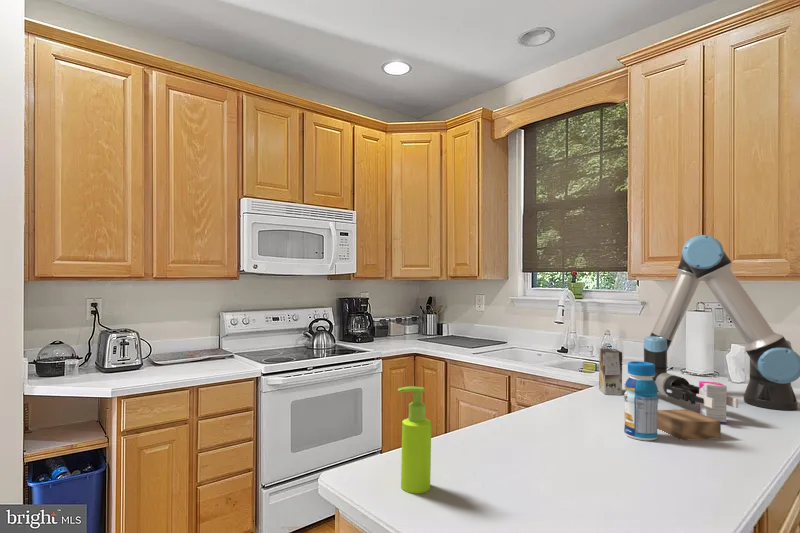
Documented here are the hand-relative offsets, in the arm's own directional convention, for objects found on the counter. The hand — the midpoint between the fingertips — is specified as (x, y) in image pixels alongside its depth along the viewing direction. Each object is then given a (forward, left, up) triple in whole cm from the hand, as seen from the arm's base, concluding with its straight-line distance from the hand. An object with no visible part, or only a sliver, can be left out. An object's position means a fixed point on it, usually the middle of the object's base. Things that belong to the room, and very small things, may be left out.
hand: (724, 403), depth 144 cm
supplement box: (+1, -5, -7) cm, 8 cm away
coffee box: (+19, -40, -7) cm, 45 cm away
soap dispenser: (+91, +52, -7) cm, 105 cm away
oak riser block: (+15, +8, -7) cm, 18 cm away
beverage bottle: (+30, +13, -7) cm, 33 cm away
